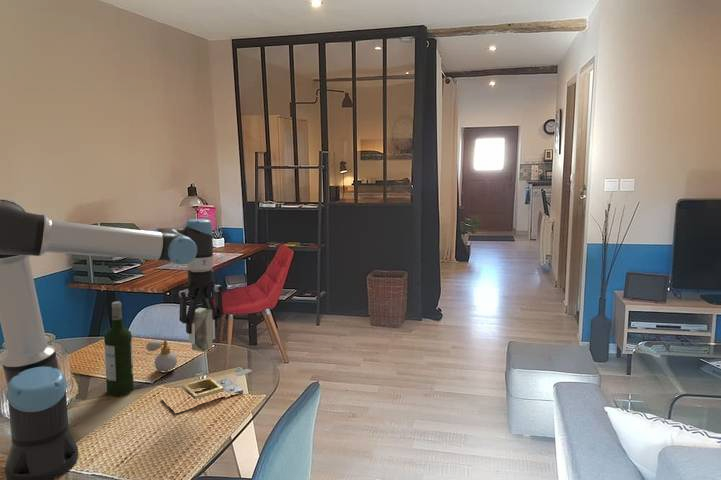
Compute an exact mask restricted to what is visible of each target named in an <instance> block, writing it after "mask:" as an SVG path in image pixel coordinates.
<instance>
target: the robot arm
mask: <svg viewBox="0 0 721 480" xmlns="http://www.w3.org/2000/svg"><path fill="white" fill-rule="evenodd" d="M213 237H214V233H213V224H212V221H211V220H210V219H205V218H193V219H188V220H187V221H186V224H185V226H181V227H164V228H163V227H161V228H159V227H158V228H157V227H155V228H151V229H150V228H149V229H145V230H142V229H132V228H126V227H125V228H124V227H123V228H122V227H116V226H115V227H114V226H106V225H105V226H104V225H98V224H89V223H88V224H87V223H77V222H70V221H61V220H52V219H50V218H49V217H48V216H47V215H45V214H36V213H32V212H28V211H26V210H25V209H24V208H23V207H22V206H21V205H20V204H18V203H16V202H14V201H11V200H8V199H0V325H1V331H2V336H3V339H4V343H5V349H6V352H7V354H6V355H5V357H3V358H2V361H1V364H2V369H3V372H4V378H5V382H6V386H7V390H6V399H7V403H8V415H9V426H10V437H11V445H10V448H9V452H8V455H7V457H6V461H5V464H4V474H5V475H4V476H5V478H6V480H54V479H55V478H58V477H60V476H62V475H64V474H65V473H67V472H68V471H69V470H71V469H72V468H73V467H74V466H75V465H76V463H77V462H78V460H79V448H78V445H77V443H76V441H75V439H74V438H73V435H72V434H71V431H70V429H69V418H68V417H69V416H68V403H67V402H68V401H67V400H68V399H67V388H68V387H67V380H66V378H65V374H64V373H63V372H62V370H61V369H60V366H59V365H60V364H59V362H58V356H57V353H56V348H55V347H54V346H53V345H50V344H48V342H47V339H46V338H47V337H46V334H45V328H44V324H43V323H44V322H43V318H42V313H41V310H40V304H39V299H38V295H37V294H38V293H37V291H36V286H35V280H34V275H33V271H32V265H31V262H30V257H31V256H35V257H40V256H42V255H44V254H46V253H56V254H57V253H58V254H66V255H67V254H68V255H83V256H96V257H107V258H109V257H110V258H120V259H121V258H125V259H137V260H149V261H151V260H153V261H160V262H172V263H174V264H176V265H181V266H182V265H183V266H185V265H187V287H186V289H184V290H179V291H178V292H177V294H178V297H179V319H178V320H179V322H180V323H182V324H185V332H186V334H187V335H188V339H189V340H188V342H189V343H190V344H191V345H192V344H195V324H194V323H193V322H192V321H193V317H194V313H195V310H196V309H197V305H198V303H199V302H200V301H199V300H202V299H204V300H205V302H206V305H207V309H210V310H212V340H216V329H217V328H218V320H219V317H222V316H224V310H223V309H224V308H223V296H222V295H223V294H222V292H223V288H224V286H222V285H220V284H215V283H214V269H213V268H214V254H213V253H214V250H213V248H214V243H213V241H214V238H213ZM213 291H214V301H215V304H214V302H213V297H212V292H213ZM188 295H190V297H189V298H190V299H189V300H190V302H189V305H188V301H187V300H188V299H187V297H188ZM187 305H188V306H187ZM187 307H188V308H187ZM187 309H188V310H187ZM77 459H78V460H77ZM76 461H77V462H76ZM74 464H75V465H74ZM73 465H74V466H73ZM72 466H73V467H72Z"/></svg>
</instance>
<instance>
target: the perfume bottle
mask: <svg viewBox="0 0 721 480" xmlns="http://www.w3.org/2000/svg"><path fill="white" fill-rule="evenodd" d="M145 347H146V348H145V349H146V350H147V351H149V352H155V351H157V350H159V349H160V353H158V354H157V355H156V357H155V358H154V366H155V370H157V371H158V370H159V371H158V372H160V371H168V370H171V369H173V368H174V369H175V367H176V366H177V363H178V359H177V356H176V354H175V353H173V352H172V351H171V349H170V345H168V341H167V340H166V339H164V340H163V342H161V341H158V340H150V341H148V342H147V343H146V345H145ZM174 369H173V370H174ZM171 371H172V370H171Z"/></svg>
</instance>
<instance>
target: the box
mask: <svg viewBox="0 0 721 480" xmlns="http://www.w3.org/2000/svg"><path fill="white" fill-rule="evenodd" d="M192 322H193V323H194V324H195V344H192V343H191V350H194V351H197V352H202V353H205V352H207V351H209V350H210V349H213V345H214V344H213V342H214V341H213V339H212V310H210V309H208V308H205V307H204V308H203V307H198V308H196V310H195V313H194V317H193V321H192Z"/></svg>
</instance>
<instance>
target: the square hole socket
mask: <svg viewBox="0 0 721 480" xmlns="http://www.w3.org/2000/svg"><path fill="white" fill-rule="evenodd" d="M197 388H210V389H212V390H210V389H207V390H204V391H201V392H197V393H195V392H194V391H193V390H192V389H197ZM183 390H185V391H186V392H187V393H188V394H189V395H191V396H192V397H193V398H194V399H197V398H201V397H205V396H209V395H212V394H215V393H219V392H232V393H241V394H243V393H244V390H243V388H241V387H240V386H238V385H237V384H236V383H234V382H233V381H232V380H231V379H229V378H228V377H226V378H222V379H219V380H216V379H213V378H212V377H211V376H210V377H207V378H202V379H199V380H196V381H192V382H188V383H185V384H182V391H183Z"/></svg>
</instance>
